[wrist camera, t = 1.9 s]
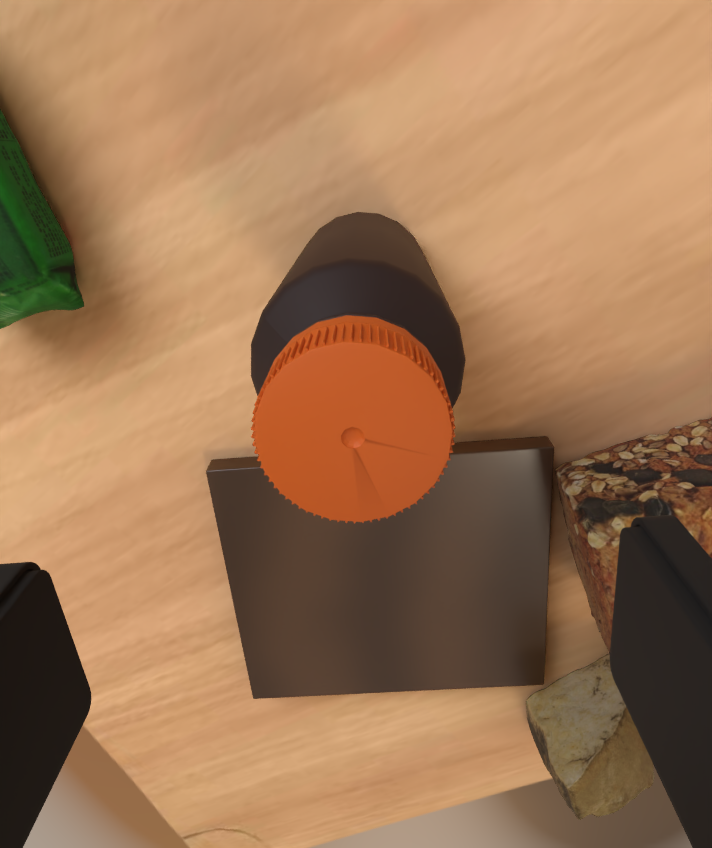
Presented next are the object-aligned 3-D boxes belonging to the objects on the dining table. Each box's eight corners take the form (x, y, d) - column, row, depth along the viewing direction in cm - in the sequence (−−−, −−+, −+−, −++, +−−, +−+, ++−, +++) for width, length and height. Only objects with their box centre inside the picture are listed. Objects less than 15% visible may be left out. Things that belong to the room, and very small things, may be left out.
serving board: (547, 435, 37) (554, 446, 35) (538, 668, 44) (544, 685, 43) (211, 459, 38) (205, 471, 36) (256, 682, 45) (253, 699, 44)
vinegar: (453, 285, 33) (552, 452, 15) (356, 364, 35) (340, 598, 17) (370, 181, 31) (368, 229, 13) (272, 271, 33) (151, 423, 15)
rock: (673, 620, 39) (519, 666, 39) (751, 773, 35) (578, 825, 35) (632, 650, 48) (508, 687, 48) (689, 773, 44) (553, 814, 44)
